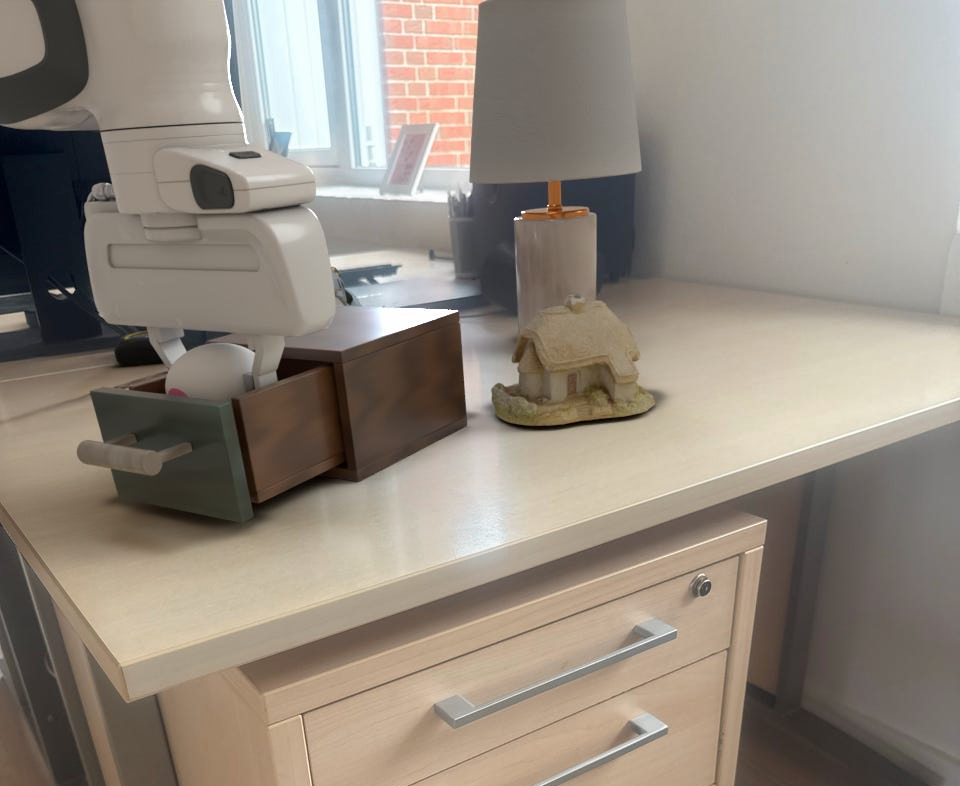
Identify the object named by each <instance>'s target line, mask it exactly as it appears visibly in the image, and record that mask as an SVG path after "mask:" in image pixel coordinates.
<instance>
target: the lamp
mask: <svg viewBox="0 0 960 786" xmlns="http://www.w3.org/2000/svg"><path fill="white" fill-rule="evenodd" d="M477 7H478V9H477V10H478V12H477V13H478V15H477V35H476V49H475V50H476V52H475V65H474V67H475V68H474V83H473V100H472V117H471V137H470V139H471V140H470V155H469V156H470V157H469V175H468V176H469V177H468V182H469V183H470V184H477V185H479V184H480V185H500V184H501V185H502V184H524V183H525V184H527V183H529V184H530V183H546V182H547V197H548V199H547V201H548V203H547V204H548V205H547V207H538V208H531V209H525V210H522V211H521V212H520V213H521V215H520V216H516V217H515V218H513V231H514V232H513V233H514V256H515V257H514V258H515V281H516V282H515V283H516V303H517V305H516V307H517V325H518V326H517V328H518V331H517V332H518V335H519V334H520V332H521V331H522V329H523V328H524V327H527V325H528V324H529V323H531V322H532V321H533V320H534V318H535V317H536V316H537V315H538V314H539V311H540V310H545V309H547V308H550V307H555V306H565V304H566V299H567V296H568V295H574V294H578V295H582V296H583V297H584V298H585V302H588V301H598V300H597V299H598V298H597V297H598V296H597V295H598V294H597V290H598V289H597V287H598V286H597V280H598V279H597V278H598V277H597V274H598V273H597V269H598V267H597V261H598V260H597V259H598V258H597V256H598V255H597V248H598V247H597V245H598V244H597V240H598V239H597V233H598V232H597V225H598V224H597V223H598V221H597V220H598V219H597V213H595V212H592V211H590V207H588V206H581V205H580V206H579V205H577V206H575V205H570V206H569V205H568V206H563V204H562V185H561V184H562V182H563V181H574V180H585V179H586V180H587V179H596V178H597V179H598V178H607V177H608V178H609V177H617V176H625V175H632V174H637V173H641V172H642V170H643V168H642V157H641V156H642V155H641V147H640V135H639V125H638V113H637V104H636V93H635V83H634V81H635V80H634V72H633V64H632V63H633V62H632V55H631V45H630V33H629V27H628V26H629V25H628V15H627V3H626V0H484V1H481V2H480V3H479V4H478V6H477Z"/></svg>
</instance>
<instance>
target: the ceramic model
mask: <svg viewBox="0 0 960 786" xmlns="http://www.w3.org/2000/svg"><path fill="white" fill-rule="evenodd" d="M640 359H641V353H640V350H639V347H638V342H637V340H636V338H635V335H634V333H633V332H632V330H631V328H630V327H629V326H627V325H625V324H624V323H623V322H622V321H621V320H620V319H619V317H617V316H616V314H615V313H614V312H613V311H611V309H610V308H609V307H608V306H607V304H606V302H605V301H602V300H597V301H588V302H585V298H584V297H583V296H582V295H578V294H574V295H568V296H567V299H566V304H565V306H555V307H550V308H547V309H545V310H540V311H539V314H538V315H537V316H536V317H535V318H534V320H533V321H532V322H531V323H529V324H528V325H527V327H524V328H523V329H522V331H521V332H520V334H519V333H518V337H517V339H516V342H515V346H514V348H513V350H512V355H511V363H512V364H518V365H517V368H516V369H517V370H516V371H517V372H518V383H514V384H510V385H506V386H505V385H504V384H503V383H501V382H497V383H495V384H494V385H493V386H492V387H491V389H490V392H491V402H492V403H491V404H492V405H493V406H494V410H495V411H494V412H496V417H497V418H499V419H500V420H502V421H504V422H506V423H510V424H515V425H522V426H531V427H532V426H533V427H535V426H536V427H537V426H538V427H539V426H540V427H541V426H558V425H566V424H571V423H576V422H580V421H581V422H582V421H583V422H584V421H593V420H600V419H610V418H622V417H628V416H633V415H637V414H643V413H645V412H648V411H649V409H650V410H651V408H652V407H654V406H655V404H656V401H655V399H654V396H653V395H652V394H650V393H649V392H648V391H647V390H646V389H645V388H644V387H643V386H641V385H639V384H638V383H637V381H638V379H639V376H640V372H639V370H638V367H637V366H636V364H635V362H637V361H639V360H640Z"/></svg>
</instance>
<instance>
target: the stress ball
mask: <svg viewBox="0 0 960 786" xmlns="http://www.w3.org/2000/svg"><path fill="white" fill-rule="evenodd" d="M254 356H255V353H254V352H253V351H251V350H249V349H247V348H245V347H242V346H239V345H235V344H230V343H211V344H206V343H205V344H202V345H198V346H196V347H193V348H192V349H190V350H187V352H186V353H184V354H183V355H182V356H180V357H179V358H178V359H177V360H176V361H175V362H174V363H173V365H172V366H171V368H170V369H169V368H168V367H167V366H166V369H167V373H166V375H167V377H166V383H165V390H166V394H167V395H176V396H184V397H193V398H202V399H210V400H219V401H227V402H231V398H232V397H235V396H238V395H241V394H244V393H246V388H247V387H246V385H245V383H244V378H243V374H245V373H248V372H252V367H253V361H254ZM168 369H169V371H168ZM231 404H232V402H231ZM232 409H233V407H232ZM233 414H234V412H233ZM234 419H235V417H234ZM235 425H236V422H235ZM236 430H237V427H236ZM237 433H238V432H237Z"/></svg>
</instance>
